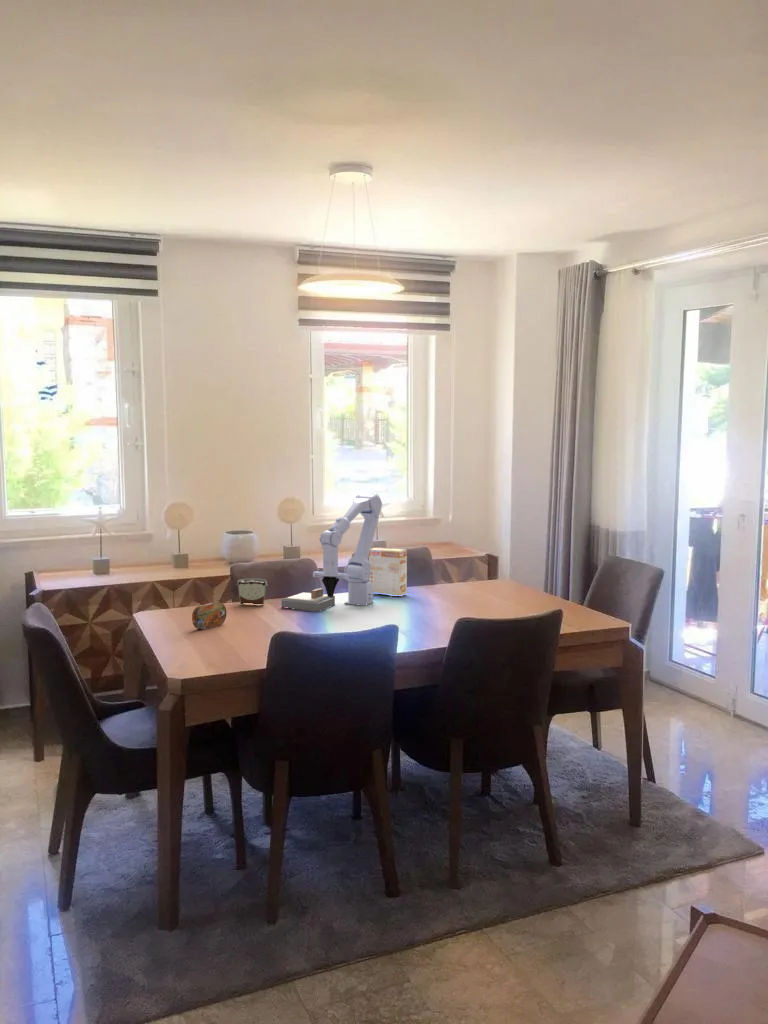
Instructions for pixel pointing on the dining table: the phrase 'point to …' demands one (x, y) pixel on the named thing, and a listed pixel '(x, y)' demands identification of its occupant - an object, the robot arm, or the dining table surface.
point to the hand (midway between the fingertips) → (330, 596)
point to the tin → (209, 615)
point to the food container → (252, 590)
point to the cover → (311, 595)
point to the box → (308, 604)
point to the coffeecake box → (388, 570)
